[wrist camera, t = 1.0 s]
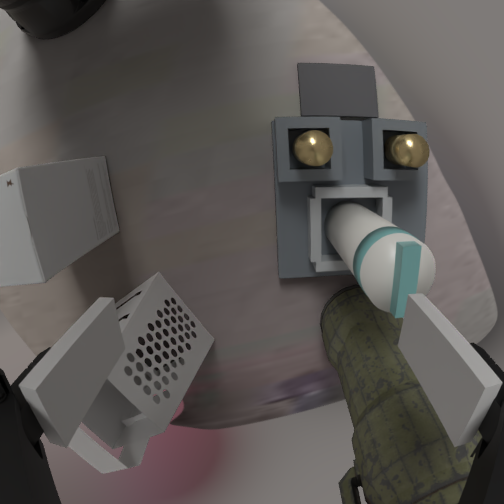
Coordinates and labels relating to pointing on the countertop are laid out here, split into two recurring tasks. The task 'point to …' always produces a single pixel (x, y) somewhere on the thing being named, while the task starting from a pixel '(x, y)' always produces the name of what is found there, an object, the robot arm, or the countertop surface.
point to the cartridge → (380, 256)
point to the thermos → (389, 411)
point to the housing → (341, 188)
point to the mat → (337, 90)
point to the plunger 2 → (406, 150)
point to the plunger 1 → (313, 148)
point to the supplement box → (52, 217)
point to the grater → (142, 379)
